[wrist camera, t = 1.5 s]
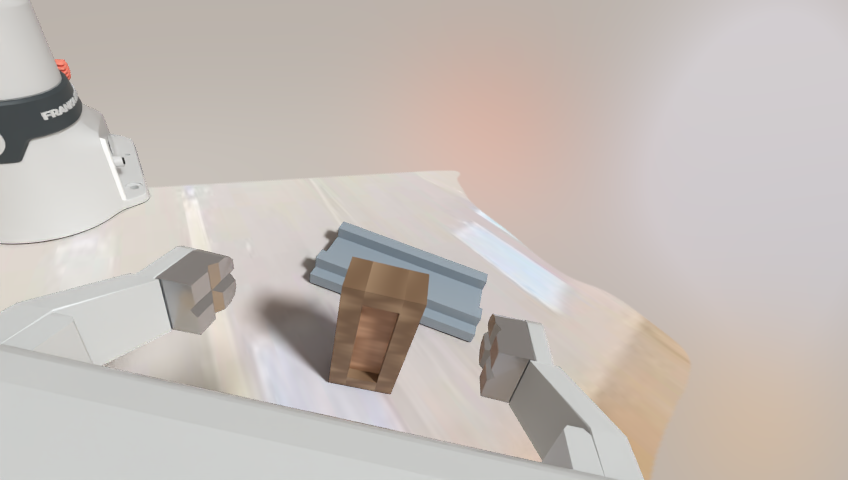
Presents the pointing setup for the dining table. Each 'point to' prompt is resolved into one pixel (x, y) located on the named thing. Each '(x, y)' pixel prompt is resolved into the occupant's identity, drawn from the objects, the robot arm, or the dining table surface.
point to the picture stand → (448, 281)
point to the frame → (376, 323)
